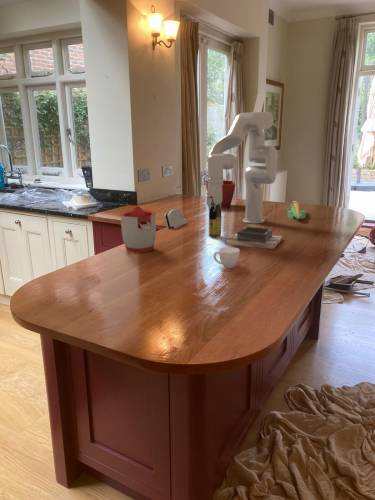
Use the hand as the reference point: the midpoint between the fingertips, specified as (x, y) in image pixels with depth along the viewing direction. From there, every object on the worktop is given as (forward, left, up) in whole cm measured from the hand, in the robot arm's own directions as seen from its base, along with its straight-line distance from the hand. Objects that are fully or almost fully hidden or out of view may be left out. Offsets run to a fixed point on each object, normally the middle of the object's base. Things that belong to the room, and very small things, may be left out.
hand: (215, 217), depth 199 cm
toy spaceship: (-61, +29, -10) cm, 68 cm away
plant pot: (-77, -27, -10) cm, 82 cm away
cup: (+41, +21, -10) cm, 47 cm away
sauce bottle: (0, 0, -10) cm, 10 cm away
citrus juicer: (+35, -22, -10) cm, 42 cm away
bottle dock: (+2, +21, -10) cm, 23 cm away
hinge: (-16, -30, -10) cm, 36 cm away
